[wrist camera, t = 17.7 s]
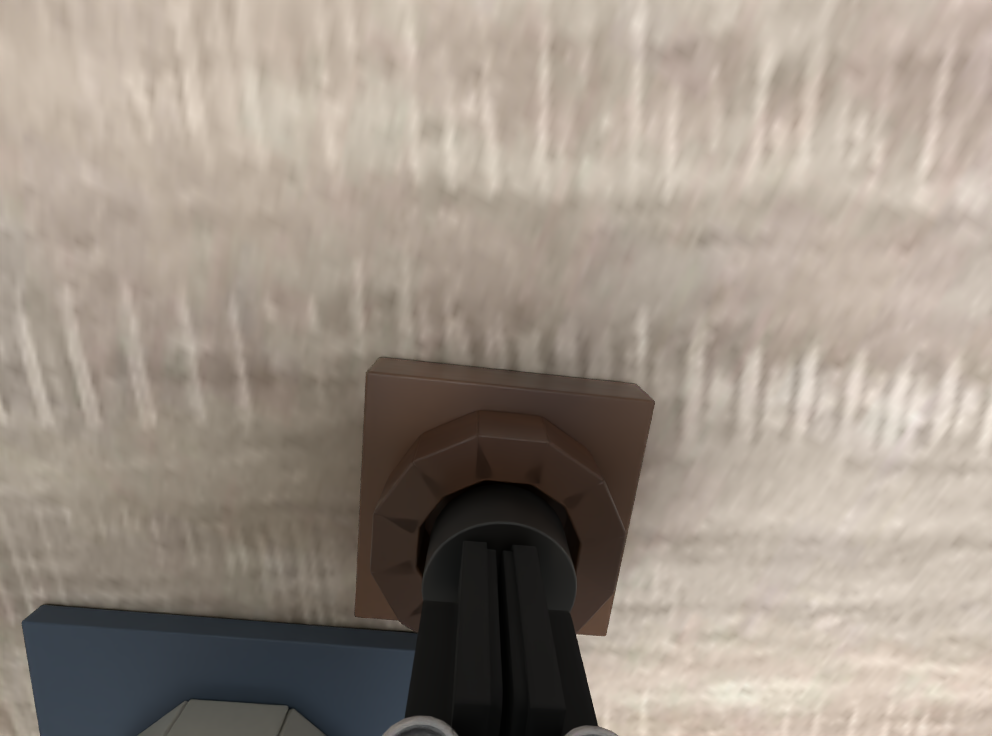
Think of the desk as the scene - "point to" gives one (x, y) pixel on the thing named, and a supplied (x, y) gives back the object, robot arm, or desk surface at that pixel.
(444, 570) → the button
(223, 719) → the dock pad
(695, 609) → the desk surface
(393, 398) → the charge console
